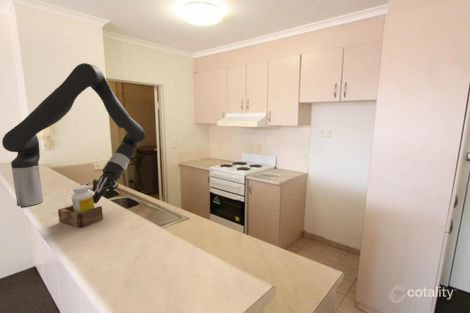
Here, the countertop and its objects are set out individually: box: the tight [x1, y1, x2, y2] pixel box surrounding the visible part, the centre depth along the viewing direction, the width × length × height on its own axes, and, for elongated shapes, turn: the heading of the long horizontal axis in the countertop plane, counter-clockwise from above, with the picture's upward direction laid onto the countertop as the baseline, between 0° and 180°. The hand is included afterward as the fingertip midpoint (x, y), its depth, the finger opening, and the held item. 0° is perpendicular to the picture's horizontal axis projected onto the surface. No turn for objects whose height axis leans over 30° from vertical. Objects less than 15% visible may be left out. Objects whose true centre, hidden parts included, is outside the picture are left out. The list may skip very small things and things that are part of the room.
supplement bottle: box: [71, 184, 96, 213], centre depth 91 cm, size 7×7×13 cm
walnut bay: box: [57, 204, 104, 229], centre depth 91 cm, size 12×9×5 cm
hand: (93, 202), depth 95 cm, fingers closed
